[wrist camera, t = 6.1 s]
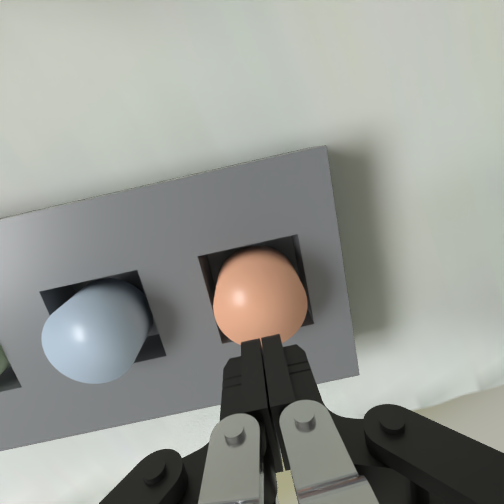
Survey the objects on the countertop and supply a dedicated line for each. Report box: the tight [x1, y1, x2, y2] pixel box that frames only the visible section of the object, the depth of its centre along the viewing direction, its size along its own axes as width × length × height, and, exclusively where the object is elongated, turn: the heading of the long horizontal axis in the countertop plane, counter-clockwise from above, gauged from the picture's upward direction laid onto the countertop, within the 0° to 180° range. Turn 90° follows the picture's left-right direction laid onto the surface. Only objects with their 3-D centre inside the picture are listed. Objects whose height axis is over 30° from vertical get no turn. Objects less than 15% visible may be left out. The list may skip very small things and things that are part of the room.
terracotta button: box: [213, 245, 307, 345], centre depth 18 cm, size 5×5×3 cm
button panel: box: [0, 145, 359, 451], centre depth 20 cm, size 28×14×4 cm, turn 102°
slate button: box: [41, 279, 153, 384], centre depth 18 cm, size 5×5×3 cm
